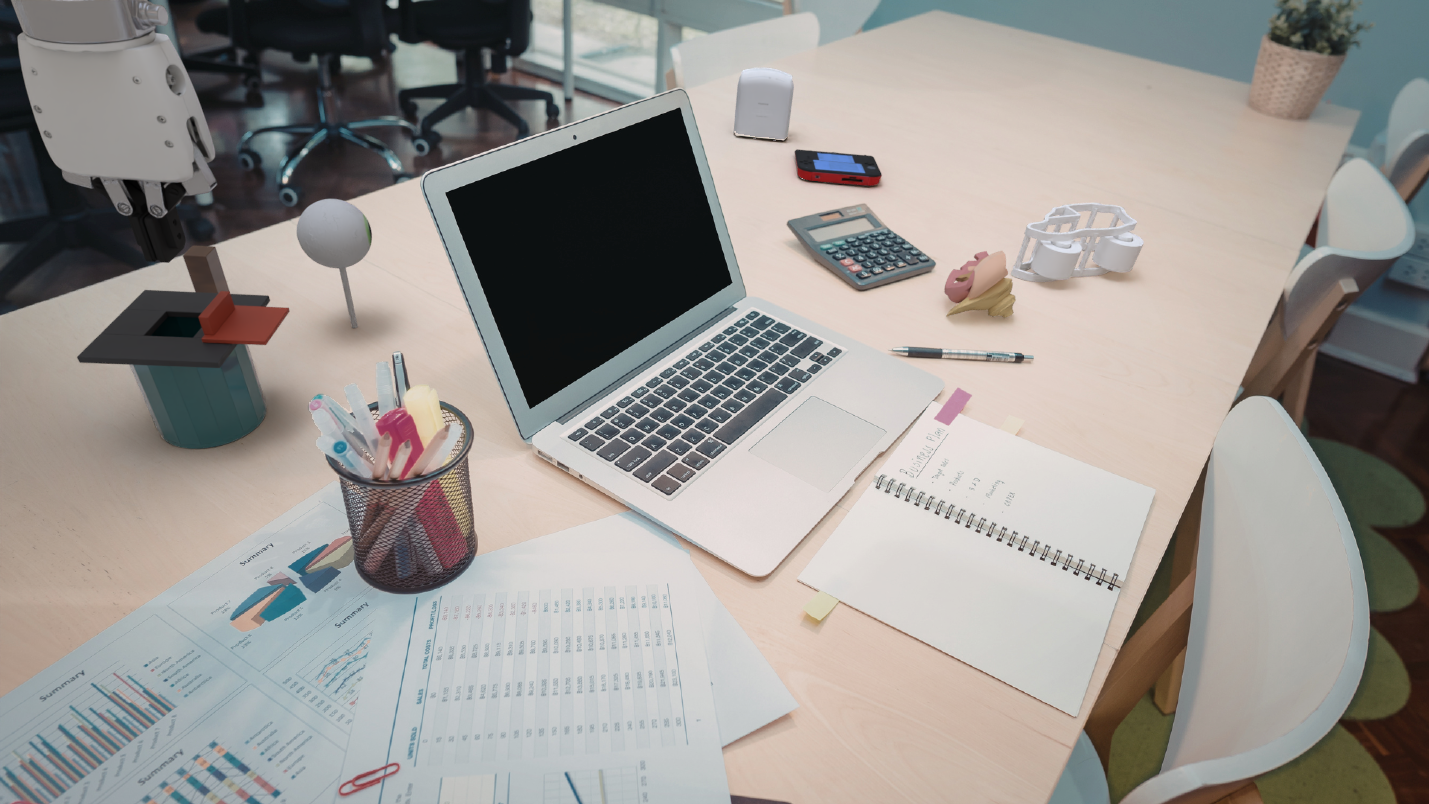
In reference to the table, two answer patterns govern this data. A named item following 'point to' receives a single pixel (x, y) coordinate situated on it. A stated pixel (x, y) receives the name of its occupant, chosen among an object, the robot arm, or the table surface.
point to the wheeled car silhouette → (1078, 245)
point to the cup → (202, 395)
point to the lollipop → (335, 239)
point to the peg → (205, 269)
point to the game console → (837, 168)
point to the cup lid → (141, 319)
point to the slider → (239, 322)
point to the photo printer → (764, 103)
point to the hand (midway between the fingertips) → (166, 254)
